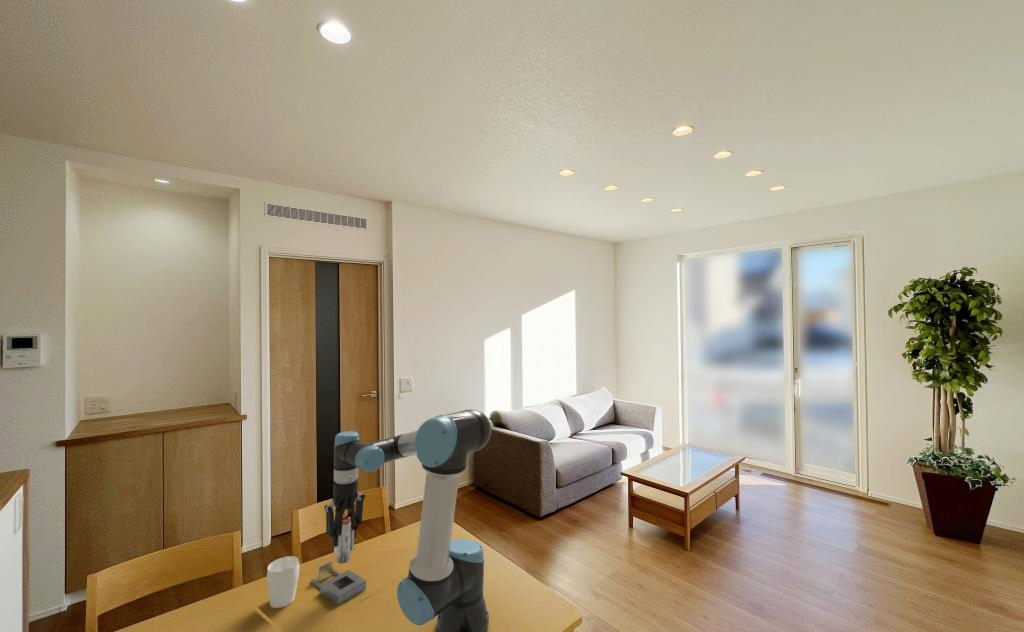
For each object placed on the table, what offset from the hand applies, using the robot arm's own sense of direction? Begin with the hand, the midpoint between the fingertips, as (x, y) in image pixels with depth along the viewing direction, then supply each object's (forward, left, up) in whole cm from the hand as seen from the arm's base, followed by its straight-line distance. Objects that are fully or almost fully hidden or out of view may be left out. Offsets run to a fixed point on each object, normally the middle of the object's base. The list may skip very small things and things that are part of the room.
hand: (344, 551), depth 133 cm
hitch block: (+4, -1, -13) cm, 14 cm away
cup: (+11, +14, -13) cm, 22 cm away
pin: (0, 0, -3) cm, 3 cm away
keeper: (+11, 0, -13) cm, 17 cm away
